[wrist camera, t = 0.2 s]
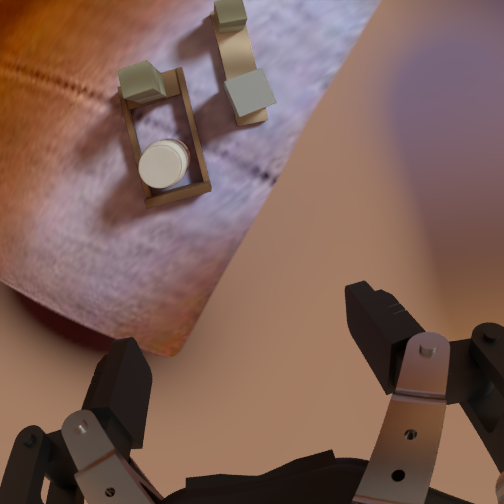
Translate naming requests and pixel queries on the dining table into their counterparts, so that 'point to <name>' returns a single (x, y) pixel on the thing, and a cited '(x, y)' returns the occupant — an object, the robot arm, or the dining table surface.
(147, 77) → the open wooden frame
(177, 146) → the pill bottle
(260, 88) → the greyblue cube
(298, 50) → the dining table surface
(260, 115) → the birch slat
